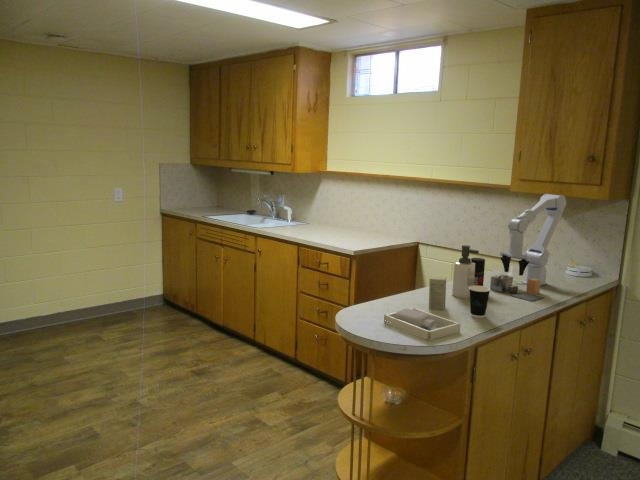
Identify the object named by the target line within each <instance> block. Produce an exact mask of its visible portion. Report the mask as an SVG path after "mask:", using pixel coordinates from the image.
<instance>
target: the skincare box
mask: <svg viewBox="0 0 640 480" xmlns="http://www.w3.org/2000/svg"><path fill="white" fill-rule="evenodd" d="M428 289H429V290H428V309H431V310H432V309H434V310H435V309H436V310H443V311H445V309H446V299H447V297H446V295H447V293H446V292H447V277H437V276H431V277H429V288H428Z"/></svg>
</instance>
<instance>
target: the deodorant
mask: <svg viewBox="0 0 640 480" xmlns="http://www.w3.org/2000/svg"><path fill="white" fill-rule="evenodd" d="M470 259H471V262H472V263H475V275H474V286H484V280H485V267H486V259H485V258H482V257H471V258H470Z"/></svg>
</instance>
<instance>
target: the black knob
mask: <svg viewBox="0 0 640 480" xmlns="http://www.w3.org/2000/svg"><path fill="white" fill-rule="evenodd" d="M507 292H508V294H511V295H514V294H518V293H519V286H518V285H513V284H512V285H509V289H508V291H507Z"/></svg>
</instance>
